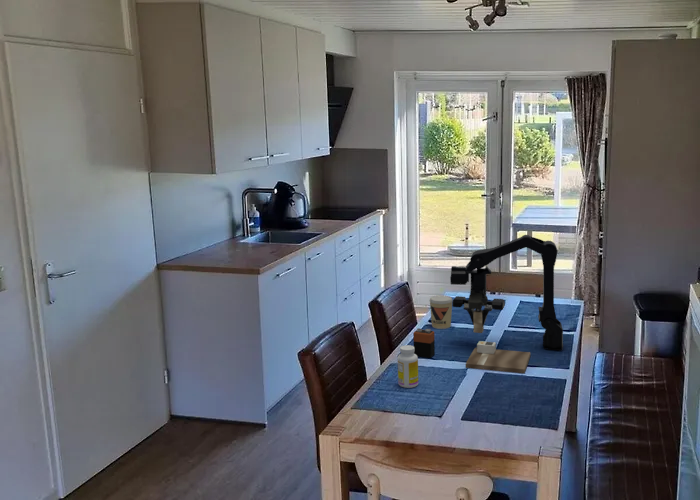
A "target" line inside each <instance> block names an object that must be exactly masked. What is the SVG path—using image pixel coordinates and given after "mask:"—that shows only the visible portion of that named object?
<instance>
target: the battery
mask: <svg viewBox="0 0 700 500" xmlns="http://www.w3.org/2000/svg"><path fill="white" fill-rule="evenodd" d="M412 335H413V337H412V338H413V347H414V348H415V351H414V354H416V355H417V357H422V358H428V359H431V358H432V357H434V355H435V353H436V352H435V351H436V350H435V349H436V347H435V331H433V330H431V328H426V329H422V328H419V327H418V328H417V329H416V330H415V331H414V332H413V334H412Z"/></svg>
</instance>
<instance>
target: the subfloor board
mask: <svg viewBox="0 0 700 500" xmlns="http://www.w3.org/2000/svg"><path fill="white" fill-rule="evenodd" d="M531 353H532V352H530V351H518V350H510V349H509V350H508V349H507V350H506V349H497V348H496V351H495V353H494V354H488V353H477V347H474V349H473V350H472V351H471V353H470V356H469V357H468V359H467V360H466V362H465V369H475V370H483V371H484V370H485V371H493V372H494V371H496V372H504V373H505V372H506V373H515V374H516V373H517V374H525V373H526V370H527V368H528V365H529V362H530V360H531V359H530V358H531Z"/></svg>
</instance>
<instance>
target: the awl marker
mask: <svg viewBox="0 0 700 500" xmlns="http://www.w3.org/2000/svg"><path fill="white" fill-rule="evenodd" d="M483 310H484V309H480V310H477V309H474V312H473V322H474V325H473V333H474V334H475V333H477V334H483V332H484V331H485V330H484V328H485V327H484V326H485V325H484V326H483V324H482V321H483Z"/></svg>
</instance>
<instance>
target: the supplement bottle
mask: <svg viewBox="0 0 700 500" xmlns="http://www.w3.org/2000/svg"><path fill="white" fill-rule="evenodd" d="M399 351H400V354H398V356H397V381H398V386H400V387H401V388H405V389H407V388H408V389H411V388H416V387H417V386H418V385H419V358H418V357H419V356H417V355H416V354H414V351H415V348H414V345H410V344H409V345H408V344H407V345H401V346H400V347H399Z"/></svg>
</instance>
